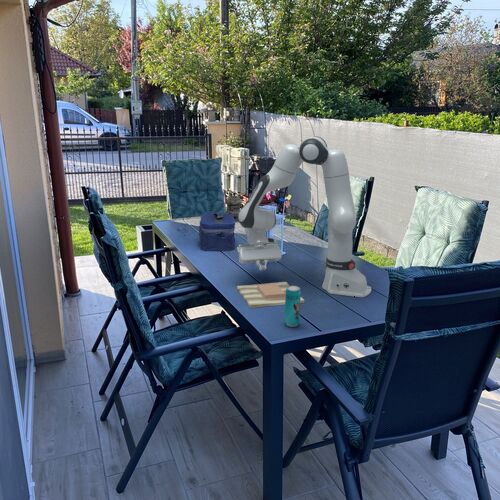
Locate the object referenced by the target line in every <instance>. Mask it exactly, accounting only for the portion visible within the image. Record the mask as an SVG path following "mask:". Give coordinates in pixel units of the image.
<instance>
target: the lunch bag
mask: <svg viewBox="0 0 500 500" xmlns="http://www.w3.org/2000/svg"><path fill="white" fill-rule="evenodd" d="M198 228H199V230H198V231H199V232H198V236H199V241H200V242H199V244H200V245H199V246H200V249H201V250H202V251H203V252H224V251H225V252H227V251H228V252H229V251H234V250H235V249H236V247H235V242H236V238H235V229H236V222H235V220H234V218H233V215H232V214H225V213H222V212H202V213H201V215H200V220H199V226H198Z"/></svg>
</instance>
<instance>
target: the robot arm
mask: <svg viewBox="0 0 500 500" xmlns="http://www.w3.org/2000/svg"><path fill="white" fill-rule="evenodd" d="M303 163H306V164H310V165H316V166H321V168H322V175H323V182H324V188H325V195H326V201H327V206H328V208H327V209H328V213H327V214H328V215H327V216H328V217H327V218H328V220H327V256H326V259H325V275H324V280H323V283H322V286H321V288H322V289H324V290H325V291H327V293H328V294H331V295H338V296H347V297H354V296H355V298H365V297H367V296H369V295H370V294H371V293H372V286H369V285H368V284H367V278H366V275H364V274H363V273H362V272H361V271H359V270H358V269H357V267H356V264H357V260H355V261H354V260H353V258H352V257H353V243H354V242H353V230H354V229H355V227H356V224H357V215H356V210H355V204H354V198H353V194H352V188H351V187H352V185H351V179H350V171H349V170H350V169H349V166H348V162H347V158H346V155H345V153H344V152H343V150H341V149H338V148H333V149H332V148H331V149H330V148H328V144H327V142H326V140H324V138H323V137H321V136H317V135H316V136H315V135H314V136H310V137H307V138H306V139H305V140H304V141H302V143H301V144H300V145H296V144H293V143H288V144H285V145H283V147H282V148H281V150H280V151H279V153H278V155H277V157H276V159H275V161H274V164H273V165H272V167H271V169H270V170H269V171H268V172H267V173H266V174H264V175H263V176H261V177H260V179H259V180H258V182H257V183H256V185H255V187H254V189H252V192H251V194H250V195H249V196H248V199H247V201H246V202H245V203H244V204H243V206H242V207H241V208H240V212H239V214H238V217H237V218H238V220H239V221H238V222H239V224H240V225H241V227H242V228H244V232H245V234H246V240H247V243H246V244H238V245H237V247H236V250H237V253H238V262H239V263H240V264H241V265H243V264H255V265H256V266H257V267H258V268H259V271H266V270H267V264H268V262H270V263H271V262H280V261H281V259H282V258H283V253H282V250H281V248H280V246H279V244H277V239H276V238H274V237H268V236H266V235H265V234H266V233H268V232H270V231H271V230H272V229H273V228H274V227H276V225H277V217H276V213H275V212H274V211H273V210H272V209H271V210H270V209H266V208H259V205H260V204H261V202H262V201H263V199H264V196H265V195H266V194H268V193H269V192H272V191H274V190H281V189H284V188H287V187H289V186H290V185H292V183H293V182H294V181H295V179H296V176H297V174H298V172H299V169H300V166H302V164H303ZM261 263H263V264H264V265H263V264H261Z"/></svg>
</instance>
